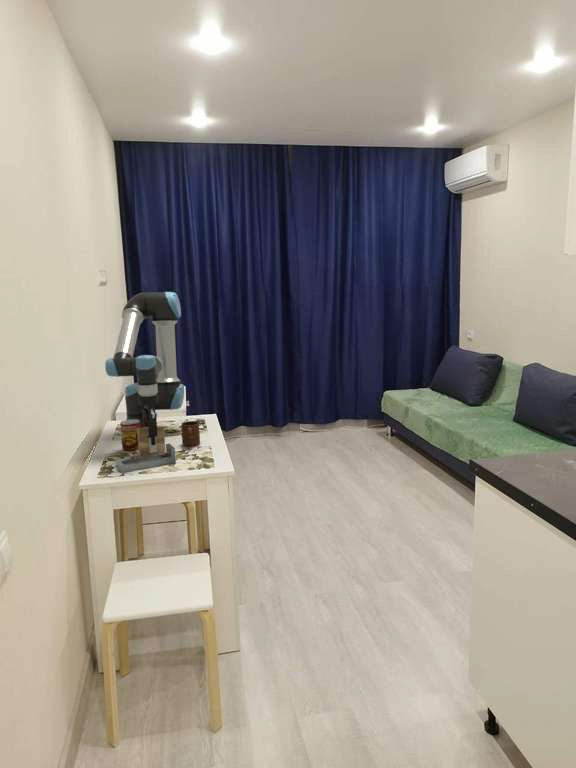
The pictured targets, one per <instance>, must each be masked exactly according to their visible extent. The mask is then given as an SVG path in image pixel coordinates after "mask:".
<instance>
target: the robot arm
mask: <svg viewBox="0 0 576 768" xmlns="http://www.w3.org/2000/svg"><path fill="white" fill-rule="evenodd" d="M177 294H178V293H176V292H173V291H158V292H157V291H156V292H154V291H153V292H139V293H138V294H135V295H133V297H131V298H130V299H129V300H127V303H126V304H125V305H124V307H123V309H122V313H121V318H122V322H121V326H120V330H119V334H118V339H117V343H116V347H115V350H114V355H113V357H109V358H107V359H106V360H105V365H104V366H105V373H106V375H107V376H109V377H116V378H117V377H136V379H137V382H135V383H131V384H129V385H127V386H126V387H125V388H124V397H125V408H126V410H125V411H126V419H125V420H132V419H134V420H139V421H140V428H143V427H148V428H149V436H148V438H149V448H150V453H154V452H157V445H156V436H157V425H158V423H157V420H158V419H157V418H158V417H157V416H158V413H156V411H162V410H163V411H165V410H167V411H168V410H169V411H172V410H179V409H180V408H181V407H182V406H183V403H184V397H185V385H184V384H183V383H181V380H180V379H179V377H178V376H177V354H176V353H177V352H176V351H177V350H176V348H177V347H176V331H175V330H176V329H175V326H176V324H177V323H178V322H179V318H181V317H182V308H181V307H182V306H181V304H180V299H179V297H178V295H177ZM145 319H151V323H152V324H153V325H154V326H155V345H156V347H155V348H156V356H155V355H151V354H144V355H143V354H142V355H139V356H136V357H134V353H135V349H136V344H137V339H138V334H139V330H140V325H141V324H142V323H143V321H144V320H145Z"/></svg>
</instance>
